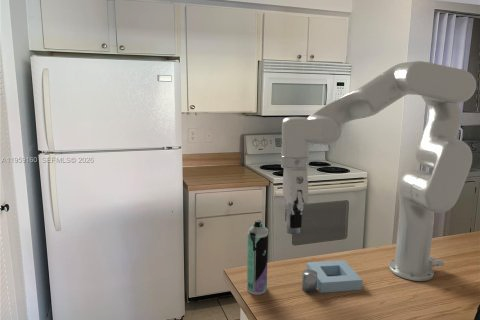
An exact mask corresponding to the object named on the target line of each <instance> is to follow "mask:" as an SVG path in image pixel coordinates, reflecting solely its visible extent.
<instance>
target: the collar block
mask: <svg viewBox="0 0 480 320" xmlns="http://www.w3.org/2000/svg"><path fill="white" fill-rule="evenodd" d="M305 270H314V271H316V272H317V291H319V293H321V294H323V293H333V292H334V293H336V292H348V291H349V292H352V291H361V290H363V278H362V277H360V275H359V274H358V273H357V272H356V271H355V269H353V268H352V267H351V265H349V263H348V262H347V261H345V259H341V260H339V259H338V260H326V261H324V260H323V261H311V262H310V261H308V262H306V269H305Z"/></svg>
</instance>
